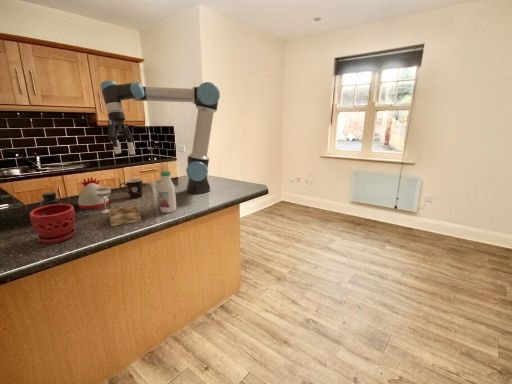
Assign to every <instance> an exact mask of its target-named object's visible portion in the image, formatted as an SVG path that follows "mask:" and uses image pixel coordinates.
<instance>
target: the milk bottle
mask: <svg viewBox="0 0 512 384" xmlns="http://www.w3.org/2000/svg"><path fill="white" fill-rule="evenodd" d="M160 178H161V179H160V183H159V186H158V196H159V197H158V200H159V209H160V210H159V211H160V212H161V213H164V214H168V213H174V212H176V211H177V200H176V189H175V185H174V183H173V180H172V179H171V171H169V170H168V171H167V170H165V171H160Z"/></svg>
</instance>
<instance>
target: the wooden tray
mask: <svg viewBox="0 0 512 384" xmlns="http://www.w3.org/2000/svg"><path fill="white" fill-rule="evenodd" d="M108 214H109V222H110V226H111V227H115V226H119V225H121V226H122V225H126V224H130V223H137V222H142V217H141V215H142V214H141V211H140V210H139V208H138V205H135V206H130V207H129V206H128V207H122V208H115V209H109V212H108Z"/></svg>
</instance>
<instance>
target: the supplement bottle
mask: <svg viewBox="0 0 512 384" xmlns="http://www.w3.org/2000/svg"><path fill="white" fill-rule="evenodd" d="M41 196H42V199H41V200H40V207H43V206H47V205H53V204H61V201H60V199H59V198H58V197H57V194H56V192H55V191H50V192H49V191H48V192H43V193H42V194H41ZM56 212H57V211H56V210H55V211H54V213H56ZM45 215H46V213H43V214H42V216H45ZM49 215H52V214H51V213H50V214H49Z"/></svg>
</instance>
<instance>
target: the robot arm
mask: <svg viewBox="0 0 512 384" xmlns="http://www.w3.org/2000/svg"><path fill="white" fill-rule="evenodd" d="M100 89H101V93H102V98H103V100H104V105H105V110H106V113H107V117H108V120H107V123H108V127H107V128H108V130H107V132H108V133H107V138H108V140H109V142H112V146H113V150H114V154H115V155H119V154H121V153H122V150H121V149H122V148H121V146H120V142H119V139H118V135H119V133H120V134H122V136H123V137H124V138H125V140H126V142H127V148H128V153H129V155H130V156H132V155H136V151H135V146H134V143H135V139H134V137H133V134H132V133H131V130H130V127H129V125H128V123H124V121H126V115H125V113H124V108H123V105H122V101H126V100H127V101H128V100H133V101H136V102H143V101H144V102H147V101H149V102H168V103H169V102H173V103H174V102H176V103H177V102H178V103H192V104H193V105H195V107H196V109H197V113H196V114H197V115H196V123H195V129H194V134H193V135H194V136H193V143H192V150H191V153H190V154H188V156H187V165H186V166H187V167H186V171H185V172H186V175H187V177H188V181H187V185H186V192H187V193H189V194H196V195H197V194H205V193H209V192H210V191H211V185H210V183H209V180H208V173H209V170H208V168H209V162H210V158H209V156H208V151H209V145H210V139H211V132H212V126H213V119H214V114H215V113H216V112H217V111H218V106H219V101H220V97H221V92H220V89H219V88H218V86H217V85H216V84H215V83H214V82H211V81H205V82H202V83H201V84H200V85H199V86H193V87H192V88H188V87H187V88H181V87H161V86H160V87H159V86H143V84H142V83H141V82H140V81H137V82H128V83H123V84H122V83H120V84H118V83H117V82H116V81H114V80H108V79H107V80H104V81H102V82H100Z"/></svg>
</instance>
